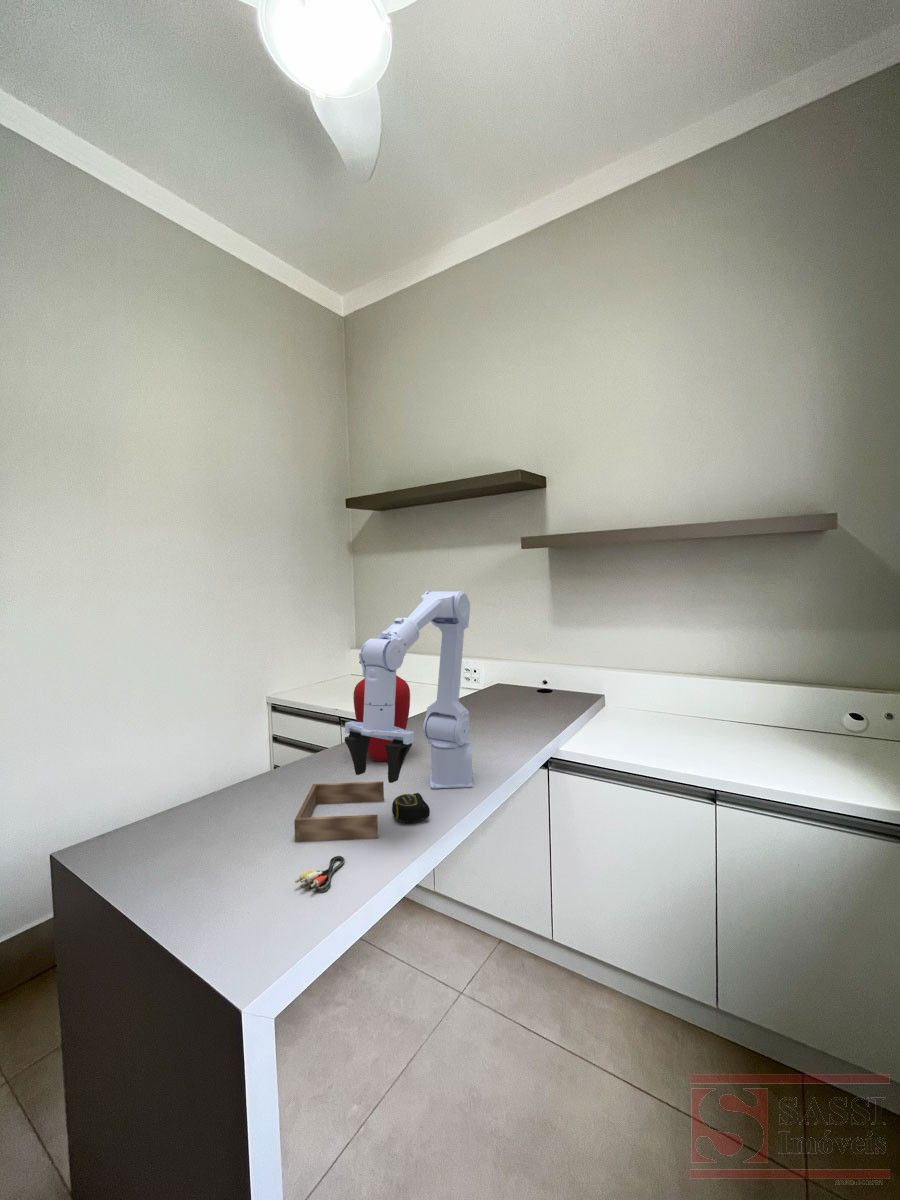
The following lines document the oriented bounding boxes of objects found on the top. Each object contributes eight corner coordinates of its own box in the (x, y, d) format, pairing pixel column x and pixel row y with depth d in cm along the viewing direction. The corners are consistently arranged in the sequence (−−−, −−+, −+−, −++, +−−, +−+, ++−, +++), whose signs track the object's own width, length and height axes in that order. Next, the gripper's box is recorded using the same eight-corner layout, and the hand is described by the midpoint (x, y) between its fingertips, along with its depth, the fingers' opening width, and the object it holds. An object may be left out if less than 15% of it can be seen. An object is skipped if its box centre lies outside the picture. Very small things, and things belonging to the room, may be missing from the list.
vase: (422, 757, 131) (420, 643, 129) (376, 772, 121) (373, 650, 119) (389, 743, 142) (387, 639, 140) (344, 757, 131) (341, 644, 130)
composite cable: (336, 859, 84) (336, 845, 84) (359, 866, 82) (358, 852, 82) (293, 892, 76) (292, 876, 76) (317, 901, 74) (316, 885, 73)
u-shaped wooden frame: (383, 799, 106) (383, 781, 106) (377, 838, 91) (377, 816, 90) (313, 802, 105) (313, 784, 105) (295, 841, 90) (294, 820, 89)
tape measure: (431, 823, 96) (430, 804, 96) (396, 829, 94) (395, 809, 94) (422, 807, 103) (421, 789, 102) (389, 812, 101) (389, 794, 100)
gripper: (335, 701, 93) (331, 775, 92) (399, 711, 85) (395, 791, 85) (359, 697, 99) (356, 766, 98) (421, 705, 92) (418, 780, 91)
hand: (376, 777), depth 92 cm, fingers open, 7 cm apart
